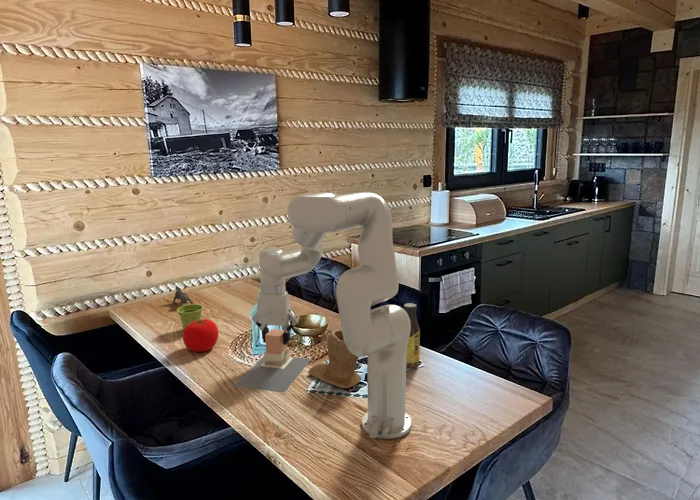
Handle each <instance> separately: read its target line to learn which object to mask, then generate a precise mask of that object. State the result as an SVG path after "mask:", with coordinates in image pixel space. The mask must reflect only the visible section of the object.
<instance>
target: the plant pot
mask: <svg viewBox="0 0 700 500" xmlns="http://www.w3.org/2000/svg"><path fill="white" fill-rule="evenodd" d="M203 309H204V306H203V305H202V304H197V303H193V304H191V303H190V304H185V305H184V304H183V305H182V306H181V307H180V306H179V307H178V308H177V309H176V310H177V311H176V312H177V313H178V315H179V317H180V320H181V325H182V328H183V330H184V329H185V327H186V326H187V325H188V324H190V323H191V322H193V321H196V320H201V319H202V312H203Z"/></svg>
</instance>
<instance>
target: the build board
mask: <svg viewBox="0 0 700 500" xmlns="http://www.w3.org/2000/svg"><path fill="white" fill-rule="evenodd" d="M289 357H290V359H289V360H288V361H287V362H286V363H285V364H284V365H283V367H278V366H270V365H265V362H264V356H263V357H261V359H260V360H258V361H257V362H256V363H255V364H254V365H253V366H252V367H251V368H250V369H249V370H248V371H247V372H246V373H245V374H244V375H243V376H242V377H241V378H240V379H239V380H238V381H236V383H235V384H233V387H240V388H246V389H247V388H248V389H252V390H253V389H254V390H261V391H268V392H275V393H282V394H283V393H284V394H285V392H286V391H287V390H288V389H289V388H290V386H291V385H292V383H294V382H295V380H296V379H297V378H298V377H299V376H300V374H301V373H302V372H303V370H304V369H305V368H306V367H307V365H308V364H309V363H310V362H311V360H312V359H311V358H304V357H296V358H294V357H295V356H289Z"/></svg>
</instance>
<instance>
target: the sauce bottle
mask: <svg viewBox="0 0 700 500" xmlns="http://www.w3.org/2000/svg"><path fill="white" fill-rule="evenodd" d="M403 309H404V310H405V311H406V312H407V314H408V316H409V319H410V323H411V330H410V336H409V341H408V346H407V355H406V369H407V368H410V369H412V368H416V367H418V366H419V365H420V347H421V345H420V342H421V339H420V338H421V328H420V325H419V323H418V320H417V309H418V308H417V303H416V304H415V303H411V302H408V303H405V304H404V305H403Z"/></svg>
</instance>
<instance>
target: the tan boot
mask: <svg viewBox="0 0 700 500" xmlns="http://www.w3.org/2000/svg"><path fill="white" fill-rule="evenodd" d="M326 345H327V356H328V362H320V363H317V364H314V365H313V366H312V367H310V368H309V370H308V372H307V374H309V375H310V376H312V377H315V378H316V379H318V380H321V381H323V382H325V383H327V384H329V385H332V386H335V387H336V388H337V387H338V388H340V389H349V388H352V387H354V386H356V385H358V384H359V383H360V381H361V380H362V376H361V375H360V374H359V373H357V372H356V365H357V362H358V360H359V358H360V357H358V356H355V355H353V354H352V353H351V352H350V351H349V350H348V348H347V346H346V344H345V342H344V338H343V334H342V329H335V330H332V331H331V332H330V333H329V335H328V337H327V343H326Z"/></svg>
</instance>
